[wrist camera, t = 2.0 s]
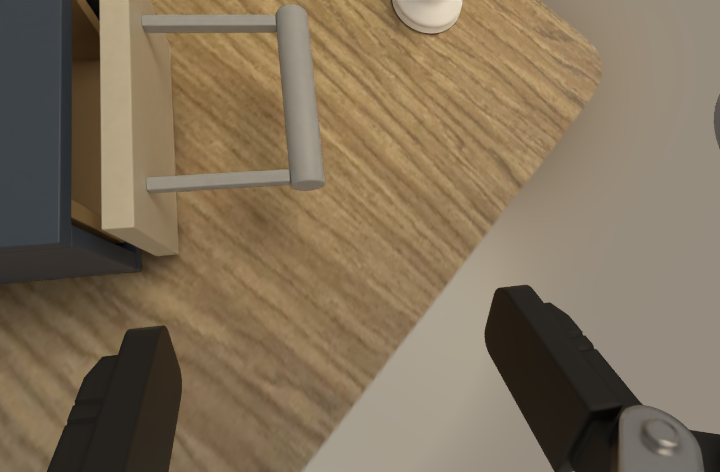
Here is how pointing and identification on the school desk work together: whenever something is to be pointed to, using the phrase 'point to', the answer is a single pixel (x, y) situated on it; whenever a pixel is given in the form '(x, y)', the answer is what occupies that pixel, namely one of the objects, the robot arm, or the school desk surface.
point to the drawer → (166, 118)
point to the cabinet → (43, 152)
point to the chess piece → (428, 14)
